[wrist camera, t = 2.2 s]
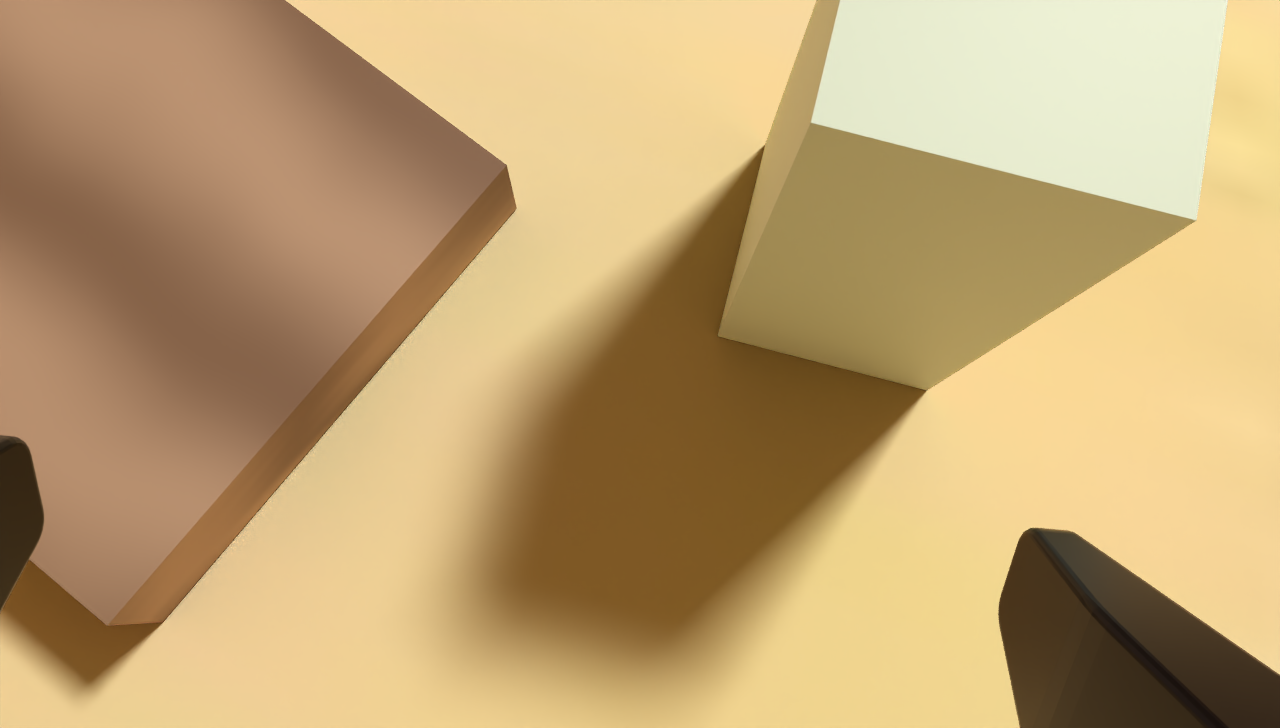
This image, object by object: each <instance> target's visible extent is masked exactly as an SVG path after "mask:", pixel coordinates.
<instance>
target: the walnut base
mask: <svg viewBox="0 0 1280 728" xmlns="http://www.w3.org/2000/svg"><path fill="white" fill-rule="evenodd" d="M516 209H517V208H516V204H515V199H514V195H513V191H512V186H511V182H510V178H509V173H508V169H507V165H506V164H504V163H503V162H502V161H500V160H499V159H498V158H496V157H495V156H494V155H492V154H491V153H490V152H488V151H487V150H485V149H484V148H483V147H481V146H480V145H479V144H477V143H476V142H475V141H473V140H472V139H471V138H469V137H468V136H467V135H465V134H464V133H463V132H461V131H460V130H459V129H457V128H456V127H455V126H453V125H452V124H451V123H449V122H448V121H447V120H445V119H444V118H442V117H441V116H440V115H438V114H437V113H436V112H434V111H433V110H432V109H430V108H429V107H428V106H426V105H425V104H424V103H422V102H421V101H420V100H418V99H417V98H416V97H414V96H413V95H412V94H410V93H409V92H408V91H406V90H405V89H403V88H402V87H401V86H399V85H398V84H397V83H395V82H394V81H393V80H391V79H390V78H389V77H387V76H386V75H385V74H383V73H382V72H381V71H379V70H378V69H377V68H375V67H374V66H373V65H371V64H370V63H369V62H367V61H366V60H364V59H363V58H362V57H360V56H359V55H358V54H356V53H355V52H354V51H352V50H351V49H350V48H348V47H347V46H346V45H344V44H343V43H342V42H340V41H339V40H338V39H336V38H335V37H334V36H332V35H331V34H330V33H328V32H327V31H325V30H324V29H323V28H321V27H320V26H319V25H317V24H316V23H315V22H313V21H312V20H311V19H309V18H308V17H307V16H305V15H304V14H303V13H301V12H300V11H299V10H297V9H296V8H295V7H293V6H292V5H291V4H289V3H288V2H286V1H285V0H0V435H4V436H15V437H18V438H20V439H21V440H23V441H24V442H25V443H26V444H27V446H28V447H29V449H30V452H31V455H32V460H33V464H34V469H35V473H36V478H37V482H38V487H39V491H40V496H41V500H42V505H43V509H44V526H43V531H42V534H41V537H40V540H39V542H38V544H37V546H36V548H35V549H34V551H33V553H32V555H31V557H30V559H29V560H30V561H32V562H33V563H34V564H35V565H36V566H38V567H39V568H40V569H41V570H42V571H43V572H45V573H46V574H47V575H48V576H49V577H50V578H52V579H53V580H54V581H55V582H56V583H57V584H59V585H60V586H61V587H62V588H63V589H64V590H66V591H67V592H68V593H69V594H70V595H71V596H73V597H74V598H75V599H76V600H77V601H79V602H80V603H81V604H82V605H83V606H84V607H86V608H87V609H88V610H89V611H90V612H91V613H93V614H94V615H95V616H96V617H97V618H98V619H100V620H101V621H102V622H103V623H104V624H105V625H107V626H112V625H128V624H143V623H158V622H163V621H164V620H165V619H166V618H167V617H168V615H169V614H170V613H171V612H172V611H173V610H174V608H175V607H176V606H177V605H178V604H179V603H180V601H181V600H182V599H183V598H184V597H185V596H186V594H187V593H188V592H189V591H190V590H191V589H192V587H193V586H194V585H195V584H196V583H197V582H198V580H199V579H200V578H201V577H202V576H203V575H204V573H205V572H206V571H207V570H208V569H209V568H210V566H211V565H212V564H213V563H214V562H215V561H216V559H217V558H218V557H219V556H220V555H221V554H222V552H223V551H224V550H225V549H226V548H227V546H228V545H229V544H230V543H231V542H232V541H233V539H234V538H235V537H236V536H237V535H238V534H239V532H240V531H241V530H242V529H243V528H244V527H245V525H246V524H247V523H248V522H249V521H250V520H251V518H252V517H253V516H254V515H255V514H256V513H257V511H258V510H259V509H260V508H261V507H262V506H263V504H264V503H265V502H266V501H267V500H268V499H269V497H270V496H271V495H272V494H273V493H274V492H275V490H276V489H277V488H278V487H279V486H280V485H281V483H282V482H283V481H284V480H285V479H286V477H287V476H288V475H289V474H290V473H291V472H292V470H293V469H294V468H295V467H296V466H297V465H298V463H299V462H300V461H301V460H302V459H303V458H304V456H305V455H306V454H307V453H308V452H309V451H310V449H311V448H312V447H313V446H314V445H315V444H316V442H317V441H318V440H319V439H320V438H321V437H322V435H323V434H324V433H325V432H326V431H327V430H328V428H329V427H330V426H331V425H332V424H333V423H334V421H335V420H336V419H337V418H338V417H339V416H340V414H341V413H342V412H343V411H344V410H345V408H346V407H347V406H348V405H349V404H350V403H351V401H352V400H353V399H354V398H355V397H356V396H357V394H358V393H359V392H360V391H361V390H362V389H363V387H364V386H365V385H366V384H367V383H368V382H369V380H370V379H371V378H372V377H373V376H374V375H375V373H376V372H377V371H378V370H379V369H380V368H381V366H382V365H383V364H384V363H385V362H386V361H387V359H388V358H389V357H390V356H391V355H392V354H393V352H394V351H395V350H396V349H397V348H398V347H399V345H400V344H401V343H402V342H403V341H404V339H405V338H406V337H407V336H408V335H409V334H410V332H411V331H412V330H413V329H414V328H415V327H416V325H417V324H418V323H419V322H420V321H421V320H422V318H423V317H424V316H425V315H426V314H427V313H428V311H429V310H430V309H431V308H432V307H433V306H434V304H435V303H436V302H437V301H438V300H439V299H440V297H441V296H442V295H443V294H444V293H445V292H446V290H447V289H448V288H449V287H450V286H451V285H452V283H453V282H454V281H455V280H456V279H457V278H458V276H459V275H460V274H461V273H462V272H463V270H464V269H465V268H466V267H467V266H468V265H469V263H470V262H471V261H472V260H473V259H474V258H475V256H476V255H477V254H478V253H479V252H480V251H481V249H482V248H483V247H484V246H485V245H486V244H487V242H488V241H489V240H490V239H491V238H492V237H493V235H494V234H495V233H496V232H497V231H498V230H499V228H500V227H501V226H502V225H503V224H504V223H505V221H506V220H507V219H508V218H509V217H510V216H511V214H512V213H513V212H514V211H515V210H516Z"/></svg>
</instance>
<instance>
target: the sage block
mask: <svg viewBox="0 0 1280 728" xmlns="http://www.w3.org/2000/svg"><path fill="white" fill-rule="evenodd" d="M1227 2H1228V0H817V1H816V4H815V7H814V9H813V12H812V15H811V18H810V21H809V23H808V26H807V29H806V32H805V35H804V37H803V40H802V43H801V46H800V49H799V51H798V54H797V57H796V60H795V63H794V65H793V68H792V71H791V74H790V77H789V79H788V82H787V85H786V88H785V91H784V93H783V96H782V99H781V102H780V105H779V107H778V110H777V113H776V116H775V119H774V121H773V124H772V127H771V130H770V133H769V135H768V138H767V141H766V144H765V148H764V152H763V156H762V160H761V164H760V168H759V172H758V176H757V180H756V184H755V188H754V192H753V196H752V200H751V204H750V208H749V212H748V216H747V220H746V224H745V228H744V232H743V236H742V240H741V244H740V248H739V252H738V256H737V260H736V264H735V268H734V272H733V276H732V280H731V284H730V288H729V292H728V296H727V300H726V304H725V308H724V312H723V316H722V320H721V324H720V328H719V332H718V336H719V337H723V338H726V339H730V340H734V341H738V342H742V343H746V344H750V345H753V346H757V347H761V348H765V349H769V350H773V351H776V352H780V353H784V354H788V355H792V356H796V357H800V358H803V359H807V360H811V361H815V362H819V363H823V364H827V365H830V366H834V367H838V368H842V369H846V370H850V371H854V372H857V373H861V374H865V375H869V376H873V377H877V378H881V379H884V380H888V381H892V382H896V383H900V384H904V385H908V386H911V387H915V388H919V389H923V390H928V389H930V388H932V387H933V386H935V385H936V384H938V383H940V382H941V381H943V380H944V379H946V378H947V377H949V376H951V375H952V374H954V373H955V372H957V371H959V370H960V369H962V368H963V367H965V366H966V365H968V364H970V363H971V362H973V361H974V360H976V359H978V358H979V357H981V356H982V355H984V354H986V353H987V352H989V351H990V350H992V349H993V348H995V347H997V346H998V345H1000V344H1001V343H1003V342H1005V341H1006V340H1008V339H1009V338H1011V337H1012V336H1014V335H1016V334H1017V333H1019V332H1020V331H1022V330H1024V329H1025V328H1027V327H1028V326H1030V325H1031V324H1033V323H1035V322H1036V321H1038V320H1039V319H1041V318H1043V317H1044V316H1046V315H1047V314H1049V313H1050V312H1052V311H1054V310H1055V309H1057V308H1058V307H1060V306H1062V305H1063V304H1065V303H1066V302H1068V301H1070V300H1071V299H1073V298H1074V297H1076V296H1077V295H1079V294H1081V293H1082V292H1084V291H1085V290H1087V289H1089V288H1090V287H1092V286H1093V285H1095V284H1096V283H1098V282H1100V281H1101V280H1103V279H1104V278H1106V277H1108V276H1109V275H1111V274H1112V273H1114V272H1115V271H1117V270H1119V269H1120V268H1122V267H1123V266H1125V265H1127V264H1128V263H1130V262H1131V261H1133V260H1134V259H1136V258H1138V257H1139V256H1141V255H1142V254H1144V253H1146V252H1147V251H1149V250H1150V249H1152V248H1154V247H1155V246H1157V245H1158V244H1160V243H1161V242H1163V241H1165V240H1166V239H1168V238H1169V237H1171V236H1173V235H1174V234H1176V233H1177V232H1179V231H1180V230H1182V229H1184V228H1185V227H1187V226H1188V225H1190V224H1192V223H1193V222H1195V221H1196V220H1197V213H1198V206H1199V199H1200V192H1201V185H1202V178H1203V171H1204V164H1205V157H1206V150H1207V143H1208V136H1209V129H1210V122H1211V114H1212V107H1213V100H1214V93H1215V86H1216V79H1217V72H1218V65H1219V58H1220V51H1221V44H1222V37H1223V30H1224V23H1225V16H1226V9H1227Z"/></svg>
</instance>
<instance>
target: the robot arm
mask: <svg viewBox="0 0 1280 728" xmlns="http://www.w3.org/2000/svg"><path fill="white" fill-rule="evenodd" d="M43 526H44V509H43V505H42V500H41V496H40V491H39V487H38V482H37V478H36V473H35V469H34V464H33V460H32V455H31V452H30V449H29V447H28V446H27V444H26V443H25V442H24V441H23V440H21V439H20V438H18V437H15V436H4V435H0V613H1V611H2V609H3V607H4V605H5V603H6V602H7V600H8V598H9V596H10V594H11V592H12V590H13V588H14V587H15V585H16V583H17V581H18V579H19V577H20V575H21V574H22V572H23V570H24V568H25V566H26V564H27V562H28V561H29V559H30V557H31V555H32V553H33V551H34V549H35V548H36V546H37V544H38V542H39V540H40V537H41V534H42V531H43ZM998 615H999V625H1000V631H1001V636H1002V641H1003V646H1004V651H1005V656H1006V661H1007V666H1008V671H1009V676H1010V680H1011V685H1012V690H1013V695H1014V700H1015V705H1016V710H1017V715H1018V720H1019V725H1020V728H1280V675H1279V674H1278V673H1276V672H1275V671H1273V670H1272V669H1271V668H1269V667H1268V666H1266V665H1265V664H1263V663H1262V662H1260V661H1259V660H1258V659H1256V658H1255V657H1253V656H1252V655H1250V654H1249V653H1247V652H1246V651H1245V650H1243V649H1242V648H1240V647H1239V646H1237V645H1236V644H1235V643H1233V642H1232V641H1230V640H1229V639H1227V638H1226V637H1224V636H1223V635H1222V634H1220V633H1219V632H1217V631H1216V630H1214V629H1213V628H1211V627H1210V626H1209V625H1207V624H1206V623H1204V622H1203V621H1201V620H1200V619H1198V618H1197V617H1196V616H1194V615H1193V614H1191V613H1190V612H1188V611H1187V610H1185V609H1184V608H1183V607H1181V606H1180V605H1178V604H1177V603H1175V602H1174V601H1172V600H1171V599H1170V598H1168V597H1167V596H1165V595H1164V594H1162V593H1161V592H1160V591H1158V590H1157V589H1155V588H1154V587H1152V586H1151V585H1149V584H1148V583H1147V582H1145V581H1144V580H1142V579H1141V578H1139V577H1138V576H1136V575H1135V574H1134V573H1132V572H1131V571H1129V570H1128V569H1126V568H1125V567H1123V566H1122V565H1121V564H1119V563H1118V562H1116V561H1115V560H1113V559H1112V558H1111V557H1109V556H1108V555H1106V554H1105V553H1103V552H1102V551H1100V550H1099V549H1098V548H1096V547H1095V546H1093V545H1092V544H1090V543H1089V542H1087V541H1086V540H1085V539H1083V538H1082V537H1080V536H1079V535H1077V534H1076V533H1074V532H1071V531H1067V530H1055V529H1043V528H1030V529H1028V530H1026V531H1025V532H1024V533H1023V534H1022V536H1021V537H1020V539H1019V541H1018V544H1017V547H1016V550H1015V553H1014V556H1013V559H1012V562H1011V565H1010V569H1009V572H1008V575H1007V578H1006V581H1005V584H1004V587H1003V590H1002V593H1001V597H1000V602H999V613H998Z"/></svg>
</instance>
